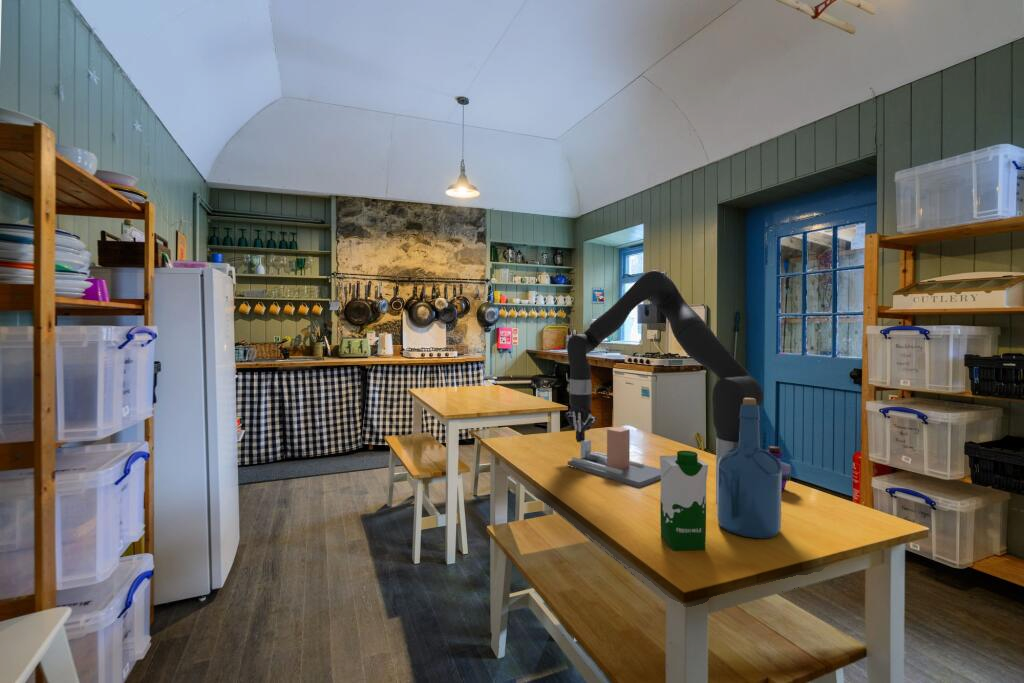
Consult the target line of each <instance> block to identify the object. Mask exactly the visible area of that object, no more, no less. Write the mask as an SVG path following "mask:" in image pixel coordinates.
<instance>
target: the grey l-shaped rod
mask: <svg viewBox="0 0 1024 683" xmlns="http://www.w3.org/2000/svg"><path fill="white" fill-rule="evenodd" d="M580 458H587V459H591V460H595V461H598V462H602V463H605V465H607V456H604V455H600V454H596V453H593V452H592V440H590V439H587V438H585V440H581V443H580Z"/></svg>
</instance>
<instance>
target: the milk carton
mask: <svg viewBox="0 0 1024 683" xmlns="http://www.w3.org/2000/svg"><path fill="white" fill-rule="evenodd" d="M659 466H660V467H659V469H660V470H661V480H660V510H659V511H660V512H659V513H660V536H661V538H662V539H663V540H664V541H665V543H666V544H667V545H668V546H669V547H670V549H671V550H672V551H697V550H699V551H700V550H701V551H703V550H706V543H707V542H706V539H707V537H706V535H707V534H706V532H707V480H708V478H707V477H708V470H709V464H707V463H706V462H704V461H703V460H701V458H699V457H698V452H696V451H691V450H678V451H677V452H676V455H659Z"/></svg>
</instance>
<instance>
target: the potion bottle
mask: <svg viewBox="0 0 1024 683" xmlns="http://www.w3.org/2000/svg"><path fill="white" fill-rule="evenodd" d="M765 450H766V451H768V452H769V453H771V454H772V455H773V456H775V457H776V458H777V459H778V461H779V462H780V464H781V470H782V490H786V489H785V488H786V485H787V482H790V480H791V473H792V472H791V470H792V466H791V465H790V464H789V463H786V462H782V461H781V458H784V452H783V451H781V450H782V448H781V446H776V445H775V446H774V445H769V446H768V449H765Z"/></svg>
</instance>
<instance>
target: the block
mask: <svg viewBox="0 0 1024 683" xmlns="http://www.w3.org/2000/svg"><path fill="white" fill-rule="evenodd" d="M630 432H631V430H630V429H629V428H624V427H617V426H615V427H612V428H607V429H606V454H607V466H608V467H612V468H615V469H619V470H621V469H624V468H627V467H629V460H630V445H631V444H630V441H631V440H630V436H631V434H630Z"/></svg>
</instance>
